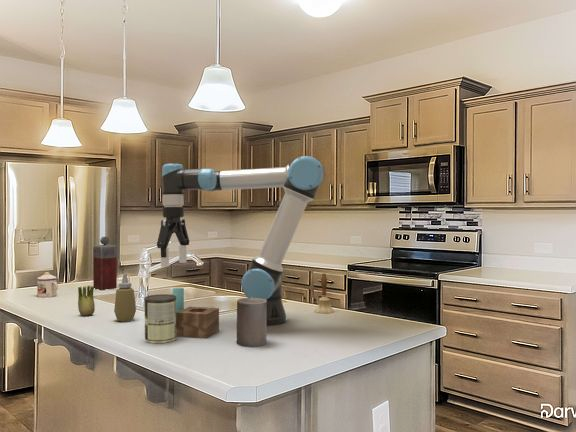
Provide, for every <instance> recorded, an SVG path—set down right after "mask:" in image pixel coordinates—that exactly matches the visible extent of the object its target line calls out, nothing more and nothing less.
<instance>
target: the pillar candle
mask: <svg viewBox="0 0 576 432" xmlns="http://www.w3.org/2000/svg"><path fill="white" fill-rule="evenodd" d="M266 317H267V301H266V300H265V299H261V298H252V296H251V298H248V297H245V298H244V297H243V298H239V299H237V300H236V342H235V343H236V344H237V345H239V346H242V347H249V348H251V347H253V348H254V347H259V346H263V345H265V344H266V343H267V325H266Z"/></svg>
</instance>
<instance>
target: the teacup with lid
mask: <svg viewBox="0 0 576 432" xmlns="http://www.w3.org/2000/svg"><path fill="white" fill-rule="evenodd" d="M36 281H37V284H36V285H37V288H36V289H37V294H36V295H37V297H38V298H50V297H51V298H52V297H57V294H58V293H57V291H58V288H59V285H58V283H57V281H58V277H57V276H55V275H52V274H50V272H49V271H48V272H47V271H46V272H44V274H42V275H41V276H38V277H37V278H36Z"/></svg>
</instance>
